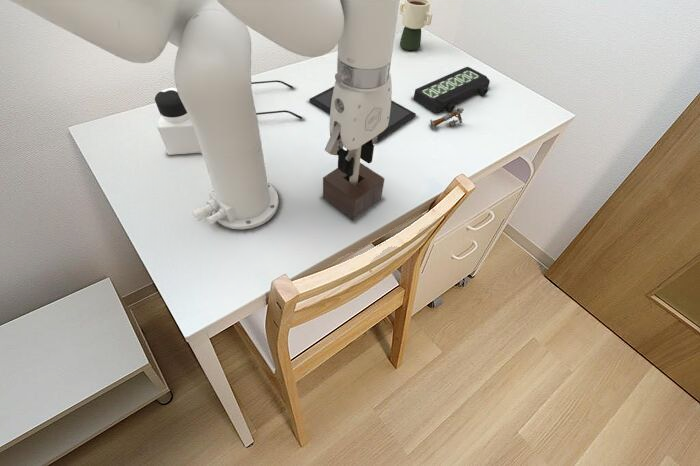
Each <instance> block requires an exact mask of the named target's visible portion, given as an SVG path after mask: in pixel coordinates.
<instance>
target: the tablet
mask: <svg viewBox="0 0 700 466" xmlns="http://www.w3.org/2000/svg"><path fill="white" fill-rule="evenodd" d="M333 90H334V85H333V86H331V87H330V88H328V89H325V90H324V91H322V92H320V93H318V94H316V95H315V96H312V97H311V98H309V99H308V100H309V103H311V104H312V105H314V106H315V107H316V108H318V109H320V110H321V111H323V112H325V113H327V114H328V115H330V110H331V102H332V96H333ZM416 115H417V113H415V112H414V111H412V110H410V109H408V108H406V107H405V106H404V105H403V106H402V105H401V104H399V103H398V102H395V101H394V100H392V99H391V108H390V117H389V123H388V126H387V128H386V129H385V130H384V131H383V132H381V133H380V134H378V135H377V141H376V143H375V144H377V143H378V142H380V141H381V140H383V139H384V138H386V137H387V136H389V135H390V134H392V133H393V132H395V131H396V130H398V129H399V128H401V127H402V126H404V125H406V124H407V123H408V122H410V121H411V120H413V119H414V118H416Z"/></svg>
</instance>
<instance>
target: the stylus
mask: <svg viewBox="0 0 700 466" xmlns="http://www.w3.org/2000/svg"><path fill="white" fill-rule="evenodd" d="M360 155H361V146H360V147H358V148H357V149H354V151H353V155H352V157H353V158H354V169H353V175H352V176H351V177H350V180H349V182H350V183H351V184H353V185H354V186H355V185H356V184H357V183H358V175H359V165H360V163H361V158H360Z"/></svg>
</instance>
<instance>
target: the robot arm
mask: <svg viewBox="0 0 700 466" xmlns="http://www.w3.org/2000/svg"><path fill="white" fill-rule="evenodd" d="M8 1H10V2H12V3H14V4H15V5H18V6H19V7H22V8H24V9H25V10H27V11H30V12H31V13H33V14H35V15H36V16H38V17H40V18H41V19H43V20H45V21H48V22H49V23H51V24H54V25H55V26H57V27H59V28H61V29H63V30H65V31H67V32H68V33H70V34H72V35H75V36H76V37H78V38H80V39H82V40H84V41H86V42H88V43H90V44H92V45H94V46H96V47H98V48H99V49H101V50H103V51H105V52H107V53H109V54H111V55H113V56H115V57H118V58H120V59H121V60H125V61H127V62H130V63H134V64H148V63H151V62H153V61H155V60H156V59H158V58H159V57H160V56H161V54H162V53H163V51H164V50H165V48H166V46H167V45H168V43H169V44H172V45H174V46H175V47H177V48H178V49H177V51H176V55H175V60H174V67H173V69H174V70H173V71H174V72H173V74H174V75H173V76H174V77H173V78H174V85H175V88H176V89H177V92H178V95H179V97H180V99H181V101H182V103H183V105H184V107H185V109H186V111H187V113H188V115H189V117H190V120H191V122H192V125H193V128H194V131H195V134H196V137H197V140H198V143H199V146H200V149H201V152H202V153H201V155H202V158H203V162H204V165H205V167H206V171H207V172H208V177H209V179H210V183H211V186H212V190H213V191H210V192H209V193H208V195H209V198H210V199H209V200H207V201H206V204H205V205H203V206H199V208H196V209H195V210H193V211H192V212H191V214H192V216H193V218H194V219H195V220H196V221H197V222H200V221H201V220H203V219H205V218H206V217H207V218H206V219H207V221H208V223H209V224H210V225H213V224H215V223H216V222H217V223H219V224H220V225H222V226H223V227H225V228H228V229H233V230H250V229H254V228H257V227H260V226H262V225H264V224H265V223H267V222H269V221H270V220H271V219H272V218H274V216H275V214H276V213H277V211H278V208H279V204H280V201H279V200H280V199H279V195H278V192H277V190H276V188H275V187H274V186H273V185H272V184H270V183H269V182H268V177H267V171H266V170H267V169H266V163H265V158H264V151H263V145H262V144H263V143H262V138H261V133H260V125H259V120H258V115H257V114H256V113H257V110H256V105H255V101H254V94H253V88H252V87H253V86H252V85H253V84H251V82H252V37H251V34H250V31H249V28H250V29H251V30H253V31H254V32H256V33H258V34H259V35H261V36H262V37H264V38H266V39H267V40H269V41H271V42H273V43H274V44H276V45H278V46H279V47H281V48H283V49H285V50H287V51H288V52H291V53H292V54H296V55H297V56H298V55H299V56H301V57H306V58H318V57H322V56H324V55H326V54H328V53H330V52H331V51H333V50H334V49H335V48H336V47H337V58H336V59H337V60H336V65H337V66H336V73H335V74H334V79H335V81H334V85H333V86H334V90H333V96H332V102H331V110H330V114H329V139H328V141H327V143H326V145H325V148H324V151H325V152H326V153H327V154H329V155H331V156H337V168H338V169H339V170H340V171H342V172H343V173H345V174H346V175H348V176H349V177H351V176H352V175H353V169H354V158H353V157H352V155H353V151H354V149H357V148H358V147H360V146H361V155H360V160H362V161H364V162H365V163H367V164H371V163H372V162H373V159H374V150H375V144H377V143H376V141H377V135H378V134H380V133H381V132H383V131H384V130H385V129H386V128H387V126H388V123H389V117H390V108H391V100H392V97H393V95H392V93H393V90H392V89H393V87H392V86H393V83H392V73H391V71H390V70H391V65H392V64H391V63H392V56H393V50H394V43H395V37H396V29H397V28H396V27H397V24H398V23H397V22H398V16H399V15H398V14H399V10H400V3H401V0H8ZM345 149H346V150H345ZM210 214H211V215H210ZM208 215H210V216H208Z"/></svg>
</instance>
